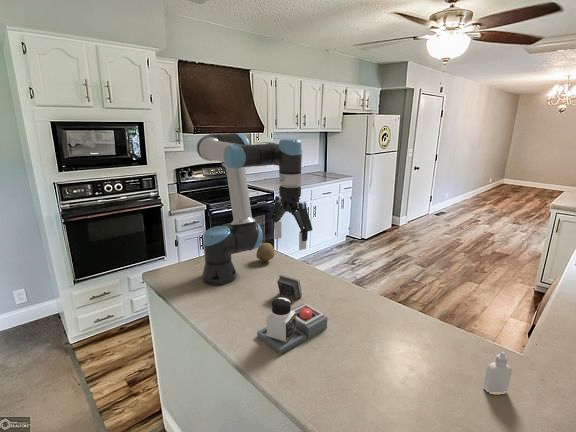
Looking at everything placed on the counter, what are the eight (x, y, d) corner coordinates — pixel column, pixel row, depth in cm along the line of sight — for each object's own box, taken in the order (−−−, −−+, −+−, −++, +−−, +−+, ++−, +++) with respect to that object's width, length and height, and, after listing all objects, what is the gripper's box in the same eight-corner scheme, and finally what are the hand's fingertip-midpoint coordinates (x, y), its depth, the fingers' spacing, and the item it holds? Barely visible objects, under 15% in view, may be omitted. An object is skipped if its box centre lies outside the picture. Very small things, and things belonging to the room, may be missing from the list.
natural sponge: (278, 261, 166) (278, 243, 163) (265, 266, 160) (264, 248, 158) (267, 256, 173) (267, 238, 170) (254, 261, 167) (253, 243, 164)
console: (257, 336, 108) (256, 324, 107) (303, 312, 122) (303, 302, 120) (280, 355, 100) (280, 342, 99) (327, 327, 113) (327, 315, 112)
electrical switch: (302, 297, 133) (301, 277, 130) (296, 303, 129) (294, 283, 126) (283, 291, 138) (282, 271, 134) (276, 297, 134) (274, 277, 130)
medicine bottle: (286, 342, 103) (286, 309, 99) (266, 336, 106) (265, 303, 102) (295, 330, 109) (296, 298, 105) (276, 324, 112) (276, 293, 108)
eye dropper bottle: (481, 381, 90) (489, 344, 86) (505, 388, 87) (514, 350, 84) (483, 393, 86) (491, 354, 82) (508, 400, 83) (517, 361, 80)
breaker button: (296, 320, 114) (296, 311, 113) (305, 315, 117) (305, 306, 116) (305, 326, 111) (305, 316, 110) (314, 321, 114) (314, 311, 113)
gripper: (259, 181, 118) (261, 236, 124) (307, 193, 100) (306, 256, 106) (276, 179, 123) (276, 232, 129) (324, 189, 105) (322, 251, 111)
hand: (289, 243), depth 118 cm, fingers open, 13 cm apart
